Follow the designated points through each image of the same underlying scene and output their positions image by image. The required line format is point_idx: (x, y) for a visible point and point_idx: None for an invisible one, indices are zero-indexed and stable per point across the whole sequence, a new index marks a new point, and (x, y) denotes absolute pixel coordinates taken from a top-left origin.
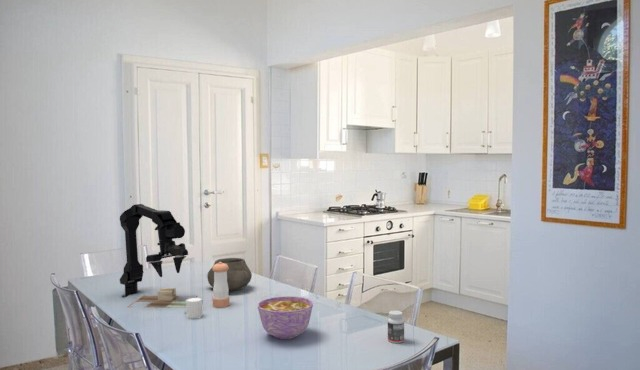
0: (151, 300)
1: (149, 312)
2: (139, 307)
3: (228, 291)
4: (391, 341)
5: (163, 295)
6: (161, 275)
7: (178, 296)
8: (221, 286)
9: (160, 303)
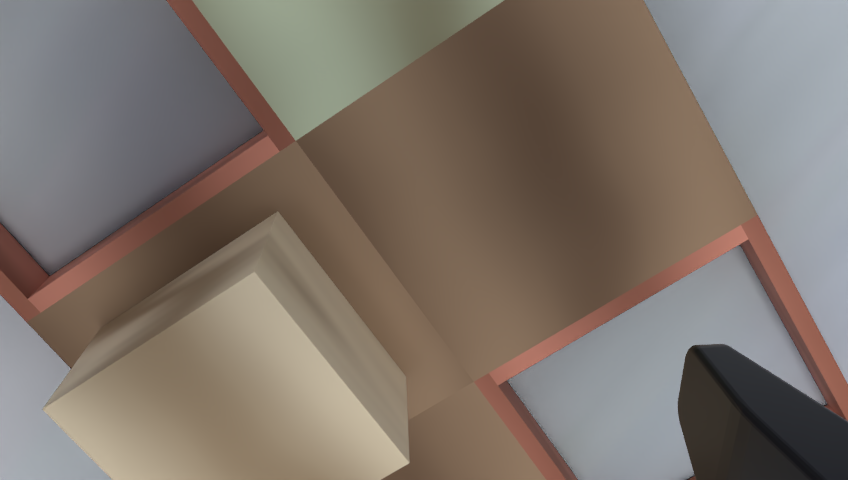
0: (469, 442)
1: (784, 76)
2: (668, 399)
3: None
4: None
5: (353, 350)
6: (751, 367)
7: (63, 305)
8: None
9: (506, 199)
